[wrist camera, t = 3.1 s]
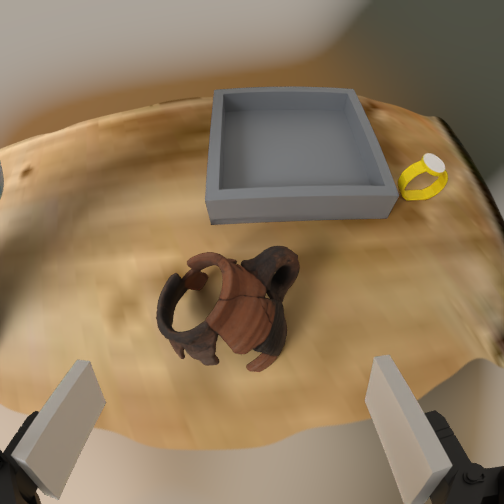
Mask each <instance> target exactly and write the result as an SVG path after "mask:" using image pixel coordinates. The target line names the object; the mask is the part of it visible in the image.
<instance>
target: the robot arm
mask: <svg viewBox="0 0 504 504" xmlns="http://www.w3.org/2000/svg"><path fill="white" fill-rule="evenodd" d="M3 188H4V178H3V171H2V166H1V162H0V198H1V196H2V193H3ZM365 402H366V405H367V407H368V410H369V412H370V415H371V417H372V420H373V422H374V425H375V427H376V430H377V432H378V435H379V437H380V440H381V443H382V445H383V448H384V451H385V453H386V456H387V458H388V461H389V464H390V467H391V469H392V472H393V475H394V477H395V480H396V483H397V486H398V488H399V491H400V494H401V497H402V500H403V503H404V504H424V503H425V502H426V501H427V500H428V498H429V497H430V499H431V501H432V504H504V466H501V467H495V468H483V467H482V466H481V465H479V464H477V463H471V461H470V460H469V458H468V457H467V455H466V453H465V451H464V450H463V448H462V446H461V444H460V443H459V441H458V439H457V438H456V436H455V435H454V433H453V431H452V429H451V428H450V426H449V425H448V423H447V421H446V419H445V418H444V417H443V416H442V415H441V414H439V413H438V412H437V411H431V412H427V413H424V412H423V411H422V409H421V407H420V405H419V404H418V402H417V400H416V398H415V397H414V395H413V393H412V392H411V390H410V388H409V386H408V385H407V383H406V381H405V380H404V378H403V376H402V375H401V373H400V371H399V370H398V368H397V366H396V365H395V363H394V361H393V360H392V358H391V357H390V355H384V356H377V357H374V360H373V365H372V370H371V375H370V380H369V384H368V389H367V393H366V397H365ZM105 404H106V401H105V399H104V396H103V394H102V391H101V389H100V386H99V384H98V381H97V379H96V376H95V373H94V371H93V368H92V365H91V362H90V361H85V360H77V361H76V362H75V364H74V365H73V366H72V368H71V369H70V370H69V372H68V373H67V374H66V376H65V377H64V378H63V380H62V381H61V382H60V384H59V385H58V387H57V388H56V389H55V391H54V392H53V394H52V395H51V396H50V398H49V399H48V401H47V402H46V403H45V405H44V406H43V408H42V409H41V411H40V412H38V411H35V412H33V413H32V414H31V415H29V416H28V417H27V419H26V420H25V421H24V423H23V424H22V427H20V428H19V430H18V432H17V433H16V434H15V436H14V437H13V439H12V440H11V442H10V443H9V445H8V446H7V448H6V449H5V451H4V452H3V453H2V451H1V450H0V504H41V502H40V499H39V496H38V494H37V493H36V490H37V488H39V489H40V490H41V491H42V492H43V493H44V494H45V495H47V496H50V497H52V498H55V499H57V500H59V498H60V496H61V493H62V492H63V489H64V487H65V485H66V483H67V480H68V479H69V476H70V474H71V472H72V470H73V468H74V466H75V464H76V462H77V459H78V457H79V455H80V453H81V451H82V449H83V447H84V445H85V443H86V441H87V439H88V437H89V435H90V433H91V431H92V429H93V427H94V425H95V423H96V421H97V419H98V417H99V415H100V413H101V411H102V410H103V408H104V406H105Z"/></svg>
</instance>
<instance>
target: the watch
mask: <svg viewBox="0 0 504 504" xmlns="http://www.w3.org/2000/svg"><path fill="white" fill-rule="evenodd" d="M424 172H428V173H429V174H431V175H433V176H439V178H438V179H437V180H436V181H435V182H434V183H433V184H432V185H430V186H429V187H427V188H425V189H423V190H405V187H406V186H407V184H408V183H409V181H411V180H412V179H413V178H415V177H416V176H417V175H419V174H422V173H424ZM447 181H448V174H447V172H446V170H445V165H444V163H443V162H442V160H441V159H440V158H439V157H437V156H436V155H433V154H430V153H428V154H424V155H423V157H422V159H421V161H419V162H416V163H414V164H412V165H410V166H409V167H408V168H407V169H405V170H404V171H403V172H402V174H401V176H400V177H399V179H398V188H399V190H400V193H401V195H402V197H403V198H404V199H405V200H407V201H409V200H427V199H429V198H431V197H433V196H435V195H437V194H438V193H439V192H440V191H441V190H442V189H443V188H444V187H445V185H446V183H447Z"/></svg>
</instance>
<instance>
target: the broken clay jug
mask: <svg viewBox="0 0 504 504" xmlns="http://www.w3.org/2000/svg"><path fill="white" fill-rule="evenodd" d="M236 263H237V261H236V260H234V259H226V258H225V257H223V256H222V255H220V254H217V253H213V252H207V253H202V254H198V255H196V256H194V257H192V258H190V259H189V260H188V261H187V265H188V266H189V267H190V268H191V270H189V271H188V272H187V273H186V274H185V276H184V277H183V278H182V279H181V277H180V276H179V275H178V274H177V273H175V274H173V275H171V276H170V277H169V279H168V281H167V282H166V284H165V285H164V288H163V290H162V292H161V294H160V297H159V300H158V305H157V309H158V310H157V317H156V319H157V324H158V328H159V330H160V332H161V333H162V335H164V336H165V338H167V339H169V341H170V343H171V345H172V347H173V349H174V350H175V352H176V353H177V354H178V355H179V357H180V358H181V359H184V358H185V355H184V349H185V350H186V352H187V353H188V354H189V355H190V356H191V357H192V358H194V359H197V360H199V361H201V362H202V363H203V364H204V365H217V364H218V363H219V359H218V357H217V356H216V355H215V352H216V341H217V337H218V335H220V336H221V337H222V339H223V340H224V341H225V342H226V343H227V344H228V345H229V347H230V348H231V349H232V351H233V352H234V353H238V354H246V353H248V352H249V351H251V350H252V349H253V350H254V351H257V352H262V354H260V355H259V356H258V357H257V358H256V359H255V360H253V361H252V362H250V363H249V364H247V365H246V368H247V369H248V370H249V371H256V372H260V371H262V370H264V369H266V368H267V367H268V366H269V365H271V364H272V363H273V362H274V360H275V359H276V358H277V356H278V355H279V354H280V352H281V351H282V348H283V346H284V344H285V340H286V336H287V325H286V320H285V317H284V310H283V305H282V302H283V299H284V296H285V294H286V293H287V291H288V289H289V288H290V287H291V286H292V284H293V283H294V281H295V280H296V278H297V276H298V273H299V262H298V255H297V254H295V253H294V252H293V251H291V250H289V249H288V248H287V247H285V246H273V247H270V248H268V249H266V250H264V251H263V252H262V253H261V254H259V255H258V256H256V257H255V258H253V259H250V260H243V261H242V262H241V266H240V265H238V264H237V265H236ZM212 265H216V266H218V267H220V269H221V272H222V277H223V284H222V290H221V294H220V297H219V300H218V302H217V303H216V305H215V307H214V309H213V310H212V312H211V313H210V314H209V316H208V317H207V318H206V320H205V321H204V322H202V323H201V324H199V325H198V326H196V327H195V328H193V329H191V330H188V331H184V332H177V331H175V330H174V329H173V328H172V323H173V315H174V310H175V307H176V304H177V303H178V301H179V300H180V298H181V297H182V296H183V295H184V293H185V292H186V291H187V290H188V289H191V290H200V289H202V287H203V286H204V285H205V283H206V281H207V279H208V276H207V274H206V273H202V272H201V270H202V269H204V268H206V267H209V266H212ZM275 272H276V273H275ZM266 293H267V295H268V297H269V298H270V299H268V298H265V295H266Z"/></svg>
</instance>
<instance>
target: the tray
mask: <svg viewBox="0 0 504 504" xmlns="http://www.w3.org/2000/svg"><path fill="white" fill-rule="evenodd" d="M398 197H399V194H398V191H397V188H396V186H395V183H394V180H393V177H392V175H391V172H390V170H389V167H388V165H387V162H386V160H385V157H384V155H383V152H382V150H381V147H380V145H379V143H378V140H377V138H376V136H375V133H374V131H373V129H372V127H371V124H370V122H369V120H368V118H367V116H366V114H365V112H364V109H363V107H362V105H361V103H360V101H359V99H358V97H357V95H356V93H355V91H354V89H343V88H324V87H253V88H235V89H220V90H214V98H213V108H212V118H211V129H210V141H209V153H208V166H207V180H206V195H205V202H206V206H207V210H208V214H209V218H210V222H211V225H218V224H237V223H258V222H281V221H307V220H338V219H381V218H387V217H388V215H389V214H390V212H391V210H392V208H393V206H394V204H395V202H396V201H397V199H398Z"/></svg>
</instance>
